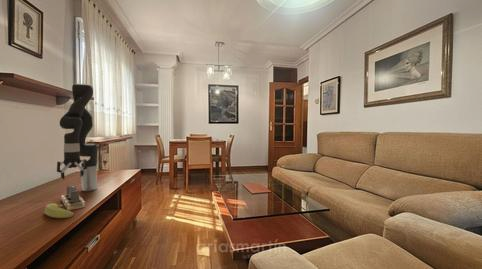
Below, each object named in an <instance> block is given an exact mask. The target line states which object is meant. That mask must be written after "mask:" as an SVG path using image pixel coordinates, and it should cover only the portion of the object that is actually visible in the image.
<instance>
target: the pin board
mask: <svg viewBox="0 0 482 269" xmlns="http://www.w3.org/2000/svg"><path fill="white" fill-rule="evenodd" d="M71 186H75V185H74V184H71V185H67V186H66V194H63V195H61V202H62V203H63V204H62V205H63V206H64V207H65V210H68V211H73V210H78V209H82V208H85V207H86V201H85V200H84V199H83V198H82V196H80V191H79V190H78V189H76V191H72V192H71V200H69V187H71Z"/></svg>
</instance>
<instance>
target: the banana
mask: <svg viewBox="0 0 482 269" xmlns="http://www.w3.org/2000/svg"><path fill="white" fill-rule="evenodd" d="M44 214H45V215H46V216H48V217H51V218H54V219H67V218H68V219H69V218H73V217H74V216H75V213H74V212H72V210H67V209H66V208H64V204H60V205H58V204H57V203H53V202H52V203H49V204H47V205H46V206H45V208H44Z"/></svg>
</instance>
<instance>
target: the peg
mask: <svg viewBox="0 0 482 269" xmlns="http://www.w3.org/2000/svg"><path fill="white" fill-rule="evenodd" d="M76 190H77V186H76V185H74V186H71V187H69V200H71V192H72V191H76Z"/></svg>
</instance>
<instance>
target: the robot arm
mask: <svg viewBox="0 0 482 269" xmlns="http://www.w3.org/2000/svg"><path fill="white" fill-rule="evenodd" d="M71 88H72V91H71V92H72V98H73V102H72V103H71V104H70V106H69V108H68V111H67V112H66V113H65V114H63V116H62V117H61V118H60V120H59V126H60V128H61V129H64V130H73V131H71V132H67V133H64V136H63V139H64V140H63V161H59V160H58V161H56V172H57V173H60V179H62V180H65V172H66V170H67V169H74V168H75V169H76V168H78V169H79V176H80V177H81V191H83V192H90V191H95V190H97V189H98V152H99V151H98V150H99V149H98V144H96V143H86V138H87V136H88V134H89V133H90V131H91V130H92V128H93V125H94V124H93V116H92V114H91V113H90V111H89V110H88V109H87V108H86V106H87V105H88V104H89V102H90V101H91V100H92V98H93V95H94V88H93V86H92V84H87V83H74V84H72V87H71ZM81 157H84V158H83V159H81ZM86 157H87V158H88V157H89V158H88V159H85V158H86ZM80 164H81V165H80ZM62 165H64V166H63V168H62V169H61V166H62Z"/></svg>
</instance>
